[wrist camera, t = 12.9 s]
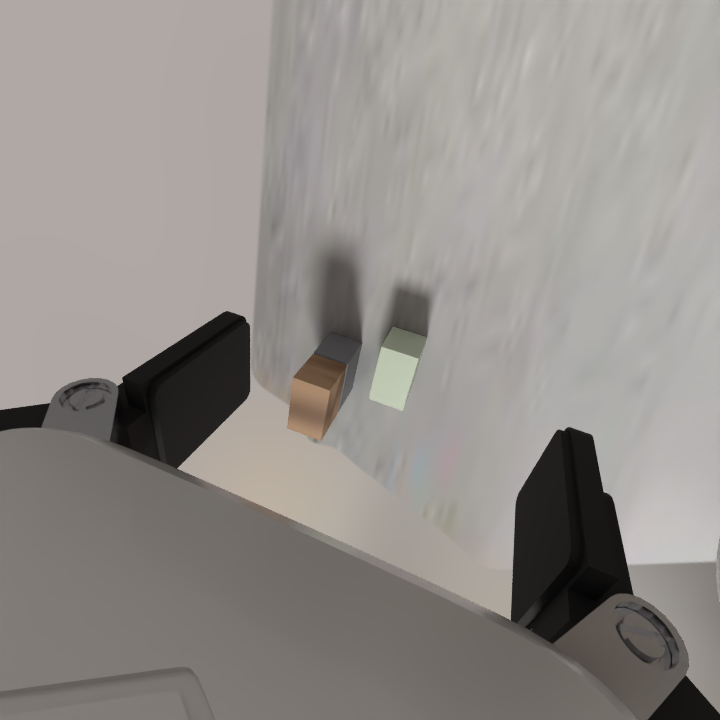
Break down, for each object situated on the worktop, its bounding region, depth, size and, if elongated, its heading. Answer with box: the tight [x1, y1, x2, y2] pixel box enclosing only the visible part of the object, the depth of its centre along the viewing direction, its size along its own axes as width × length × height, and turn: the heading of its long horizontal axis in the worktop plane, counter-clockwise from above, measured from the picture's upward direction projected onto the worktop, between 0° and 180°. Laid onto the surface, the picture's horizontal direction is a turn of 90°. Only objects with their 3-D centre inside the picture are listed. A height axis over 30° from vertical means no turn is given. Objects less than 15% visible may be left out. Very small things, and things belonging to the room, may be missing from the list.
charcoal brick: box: [314, 333, 362, 412], centre depth 47 cm, size 7×4×5 cm, turn 169°
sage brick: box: [369, 327, 427, 411], centre depth 44 cm, size 7×4×5 cm, turn 170°
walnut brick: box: [287, 354, 347, 441], centre depth 43 cm, size 7×4×5 cm, turn 169°
